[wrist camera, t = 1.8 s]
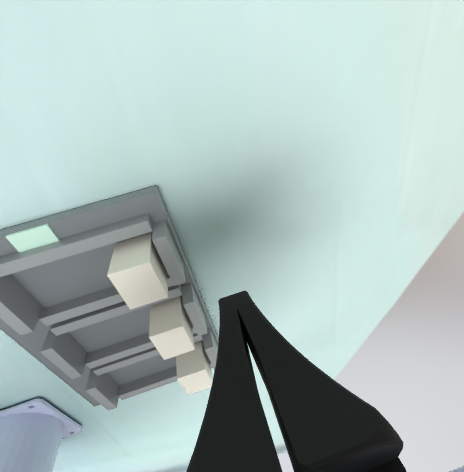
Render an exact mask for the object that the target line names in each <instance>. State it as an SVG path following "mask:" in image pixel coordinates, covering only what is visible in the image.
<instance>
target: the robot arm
mask: <svg viewBox="0 0 464 472" xmlns="http://www.w3.org/2000/svg"><path fill="white" fill-rule="evenodd" d="M219 310H220V329H219V343H218V351H217V359H216V366H215V372H214V377H213V382H212V387H211V391H210V396H209V400H208V404H207V408H206V412H205V416H204V419H203V422H202V426H201V429H200V433H199V436H198V439H197V443H196V446H195V449H194V452H193V454H192V457H191V460H190V463H189V466H188V469H187V472H282V469H281V466H280V462H279V459H278V456H277V453H276V449H275V446H274V443H273V440H272V436H271V433H270V430H269V427H268V423H267V420H266V417H265V414H264V410H263V407H262V404H261V401H260V397H259V393H258V389H257V385H256V380H255V376H254V372H253V367H252V363H251V358H250V354H249V349H248V346H249V348H250V350H251V353H252V355H253V357H254V360H255V362H256V365H257V367H258V369H259V372H260V374H261V376H262V379H263V381H264V384H265V386H266V389H267V391H268V394H269V397H270V400H271V403H272V406H273V409H274V412H275V415H276V418H277V421H278V424H279V427H280V430H281V433H282V436H283V439H284V442H285V445H286V448H287V451H288V454H289V457H290V460H291V463H292V466H293V469H294V472H406V469H405V467H404V466H403V464H402V463H401V461H400V459H399V458H398V456H399V454H400V452H401V451H402V449H403V441H402V440H401V439H400V437H399V435H398V434H397V432H396V431H395V430H394V429H393V427H392V426H391V425H390V424H389V422H388V421H387V420H386V419H385V418H384V417H383V416H382V415H381V414H380V412H379V411H378V410H376V408H374V407H372V406H371V405H369V404H368V403H366V402H365V401H363V400H362V399H360V398H359V397H357V396H356V395H354V394H353V393H351V392H350V391H348V390H347V389H346V388H344V387H343V386H341V385H340V384H339V383H337V382H336V381H334V380H333V379H332V378H331V377H329V376H328V375H327V374H325V373H324V372H323V371H321V370H320V369H319V368H318V367H316V366H315V365H314V364H313V363H311V362H310V361H309V360H308V359H307V358H305V357H304V356H303V355H302V354H301V353H300V352H299V351H297V350H296V349H295V348H294V347H293V346H292V345H291V344H290V343H289V342H288V341H287V340H286V339H285V338H284V337H283V336H282V335H281V334H280V333H279V332H278V331H277V330H276V329H275V328H274V327H273V326H272V324H271V323H270V322H269V321H268V320H267V319H266V318H265V316H264V315H263V314H262V313H261V311H260V310H259V309H258V308H257V306H256V305H255V303H254V302H253V301H252V299H251V297H250V296H249V294H248V292H247V291H242V292H239V293H236V294H233V295H230V296H227V297H224V298H221V299H220V300H219ZM247 343H248V345H247ZM81 429H82V426H80V425H79V424H78V423H76V422H75V421H73V420H72V419H70V418H69V417H67V416H66V415H65V414H63V413H62V412H60V411H59V410H57V409H56V408H54V407H53V406H52V405H50V404H49V403H47V402H46V401H44V400H43V399H40V398H39V399H34V400H31V401H28V402H25V403H22V404H19V405H16V406H14V407H11V408H8V409H5V410H2V411H0V472H52V471H53V467H54V463H55V460H56V456H57V452H58V448H59V445H60V441H61V439H63V438H65V437H68V436H71V435H74V434H77V433H79V432H80V431H81ZM450 472H464V466H462V467H459V468H457V469H455V470H452V471H450Z"/></svg>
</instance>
